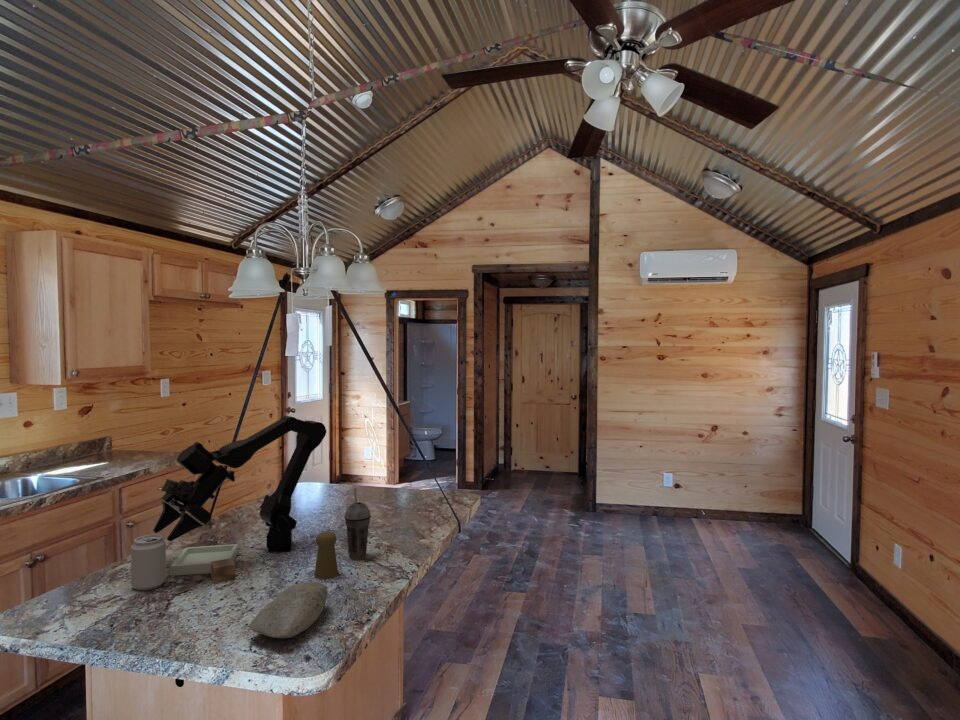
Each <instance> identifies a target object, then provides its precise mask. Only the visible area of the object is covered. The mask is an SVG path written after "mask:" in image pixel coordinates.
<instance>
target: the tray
mask: <svg viewBox="0 0 960 720" xmlns="http://www.w3.org/2000/svg"><path fill="white" fill-rule="evenodd" d="M238 553H239V544H238V543H234V544H231V543H230V544H218V545H217V544H216V545H202V546H190V547H189V546H188V547H185V548H184V549H183V550H182V551H181V552H180V553H179V555H178V556H177V557H176V559H174V562H173V564H172V565H171V566H170V567H169V568H170V569H169V571H170V572H169V574H170V577H176V576H187V575H190V576H191V575H200V574H211V562H213V561H218V560H224V559H229V558H232V559H233V561H234V562H235V560H236V558H237V555H238Z"/></svg>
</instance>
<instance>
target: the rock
mask: <svg viewBox="0 0 960 720" xmlns="http://www.w3.org/2000/svg"><path fill="white" fill-rule="evenodd" d="M328 593H329V591H328V589H327V586H326V585H324V583H322V582H319V581H305V582H299V583H296V584H294V585H291V586H289V587H288V588H285V590H283V591H282V592H281V593H279V595H277V596H276V598H274V599H273V600H272V601H271V602H270V603H269V604H267V605H266V606H265V607H264V608H262V609H261V610H260V611H259V612H258V613H257V614H256V615H255V617H254V618H252V620H251V621H250V624H249V626H248V628H249V630H250V631H251V632H255V633H258V634H261V635H264V636H267V637H270V638H274V639H275V638H276V639H291V638H293V637H296V636H297V635H299V634H301V633H302V632H304V631H306V630H307V629H308V628H310V627H311V626H312V625H313V624H314V623H315V622H316V621H317V620H318V618H319V617H320V615H321V614H322V611H323V609H324V608H325V604H326V601H327V600H328V599H327V598H328Z"/></svg>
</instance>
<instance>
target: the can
mask: <svg viewBox="0 0 960 720" xmlns="http://www.w3.org/2000/svg"><path fill="white" fill-rule="evenodd" d="M163 538H164V536H163V535H161V534H157V533H155V534H146V535H142V536H138V537H135V539H134V540H133V544H132V545H131V546H130V573H131V575H130V577H131V578H130V579H131V581H130V582H131V585H130V586H131V588H134V589H135V590H136V591H149V590H154V589H156V588H159V587H160V586H162V585H163V583H164V582H165V581H166V580H167V568H166V550H167V549H166V548H167V547H166V546H167V545H166V544H167V543H166V540H165V539H163Z"/></svg>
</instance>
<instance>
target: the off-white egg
mask: <svg viewBox="0 0 960 720" xmlns="http://www.w3.org/2000/svg"><path fill="white" fill-rule="evenodd" d="M174 557H175V556H174V550H172V549H166V569H169V568H170V566H171V565H172V564H173V562H174V561H175V559H174Z"/></svg>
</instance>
